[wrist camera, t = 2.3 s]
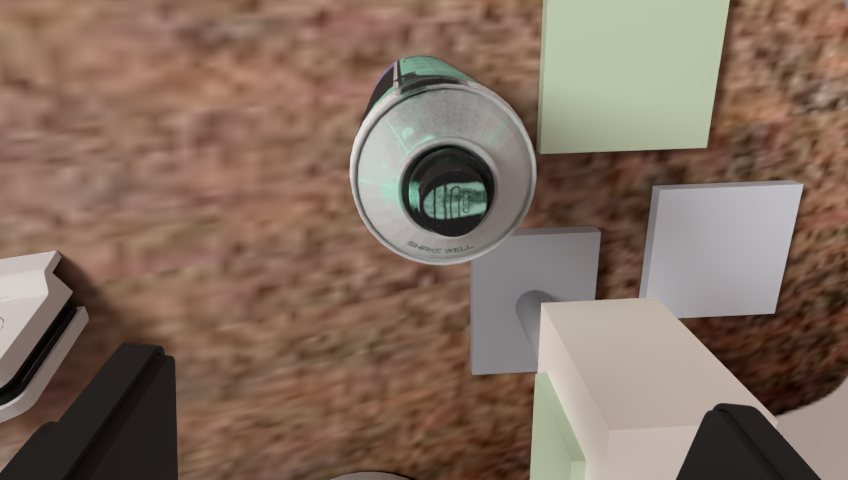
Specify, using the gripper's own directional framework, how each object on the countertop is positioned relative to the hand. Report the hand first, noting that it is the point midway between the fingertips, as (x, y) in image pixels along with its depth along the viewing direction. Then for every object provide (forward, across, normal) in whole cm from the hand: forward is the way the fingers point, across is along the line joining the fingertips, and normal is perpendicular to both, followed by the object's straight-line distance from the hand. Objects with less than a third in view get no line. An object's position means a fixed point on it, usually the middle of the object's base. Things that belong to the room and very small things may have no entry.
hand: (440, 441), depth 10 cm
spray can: (+25, 0, -2) cm, 25 cm away
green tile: (+25, -12, -6) cm, 28 cm away
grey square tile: (+25, -21, +5) cm, 33 cm away
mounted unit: (+24, -10, +10) cm, 28 cm away
